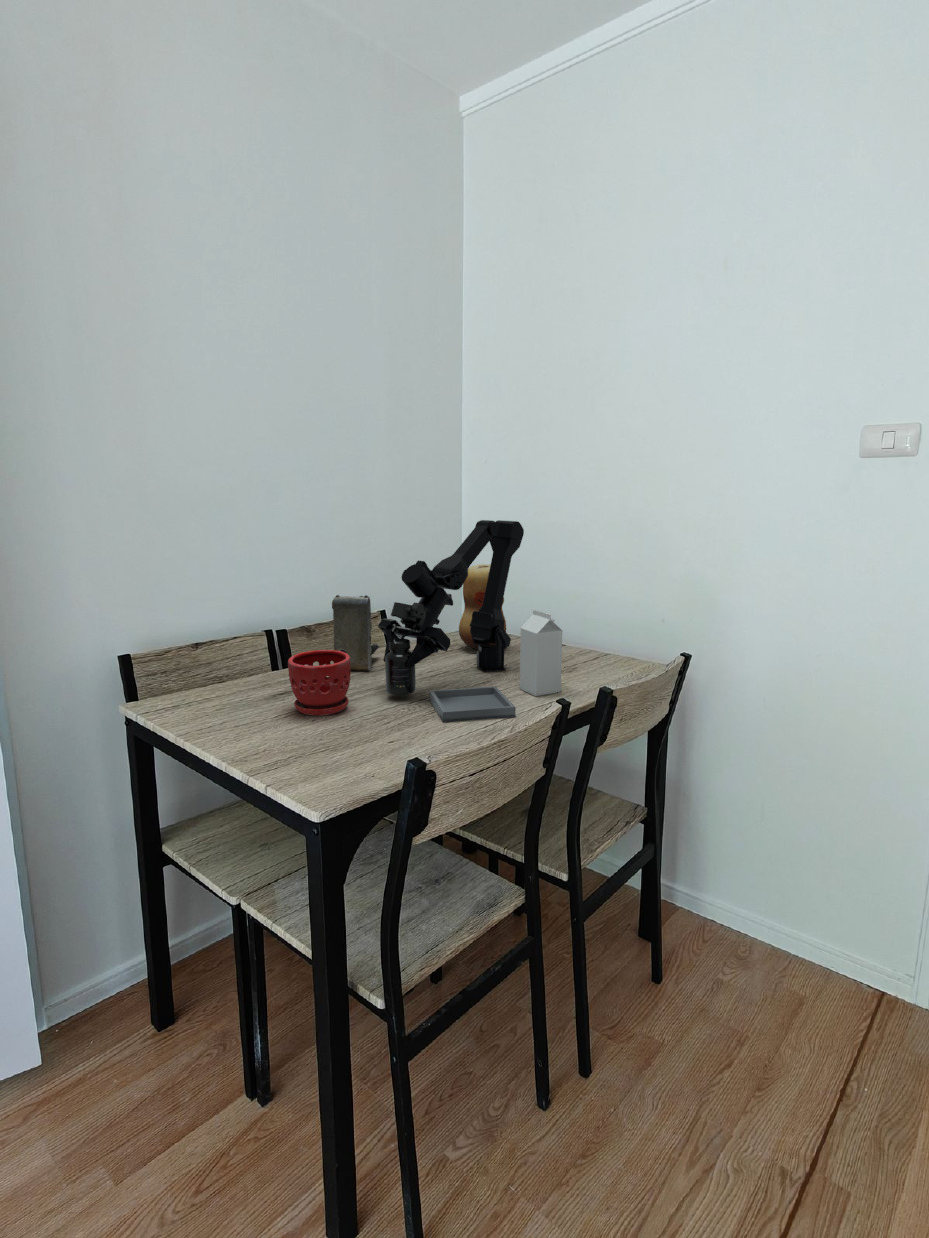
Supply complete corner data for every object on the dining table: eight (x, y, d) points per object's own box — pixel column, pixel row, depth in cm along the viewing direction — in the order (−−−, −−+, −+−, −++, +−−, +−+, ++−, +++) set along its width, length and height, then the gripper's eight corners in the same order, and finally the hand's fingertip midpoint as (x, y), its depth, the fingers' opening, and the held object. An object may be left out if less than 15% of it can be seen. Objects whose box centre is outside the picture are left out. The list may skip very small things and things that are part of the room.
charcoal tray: (495, 695, 167) (495, 686, 166) (515, 716, 152) (515, 706, 151) (429, 699, 163) (429, 690, 163) (442, 722, 148) (442, 712, 148)
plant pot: (286, 704, 160) (283, 652, 157) (344, 698, 165) (343, 647, 162) (295, 723, 148) (292, 666, 146) (358, 715, 153) (356, 660, 150)
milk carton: (535, 697, 166) (537, 616, 162) (519, 689, 172) (520, 611, 168) (560, 692, 169) (563, 613, 165) (544, 685, 175) (545, 608, 171)
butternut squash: (458, 655, 204) (458, 567, 199) (458, 644, 217) (458, 562, 212) (507, 655, 204) (508, 567, 199) (504, 644, 217) (505, 562, 213)
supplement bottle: (386, 687, 168) (384, 637, 165) (415, 686, 168) (414, 636, 166) (385, 696, 161) (384, 644, 159) (416, 695, 162) (415, 643, 159)
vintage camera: (382, 659, 201) (380, 588, 198) (370, 672, 186) (367, 596, 183) (348, 659, 202) (346, 589, 199) (333, 671, 187) (330, 596, 184)
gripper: (382, 584, 169) (348, 638, 163) (441, 592, 157) (406, 651, 151) (406, 612, 176) (375, 665, 170) (464, 622, 165) (432, 679, 159)
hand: (395, 664), depth 162 cm, fingers closed on supplement bottle, 7 cm apart
